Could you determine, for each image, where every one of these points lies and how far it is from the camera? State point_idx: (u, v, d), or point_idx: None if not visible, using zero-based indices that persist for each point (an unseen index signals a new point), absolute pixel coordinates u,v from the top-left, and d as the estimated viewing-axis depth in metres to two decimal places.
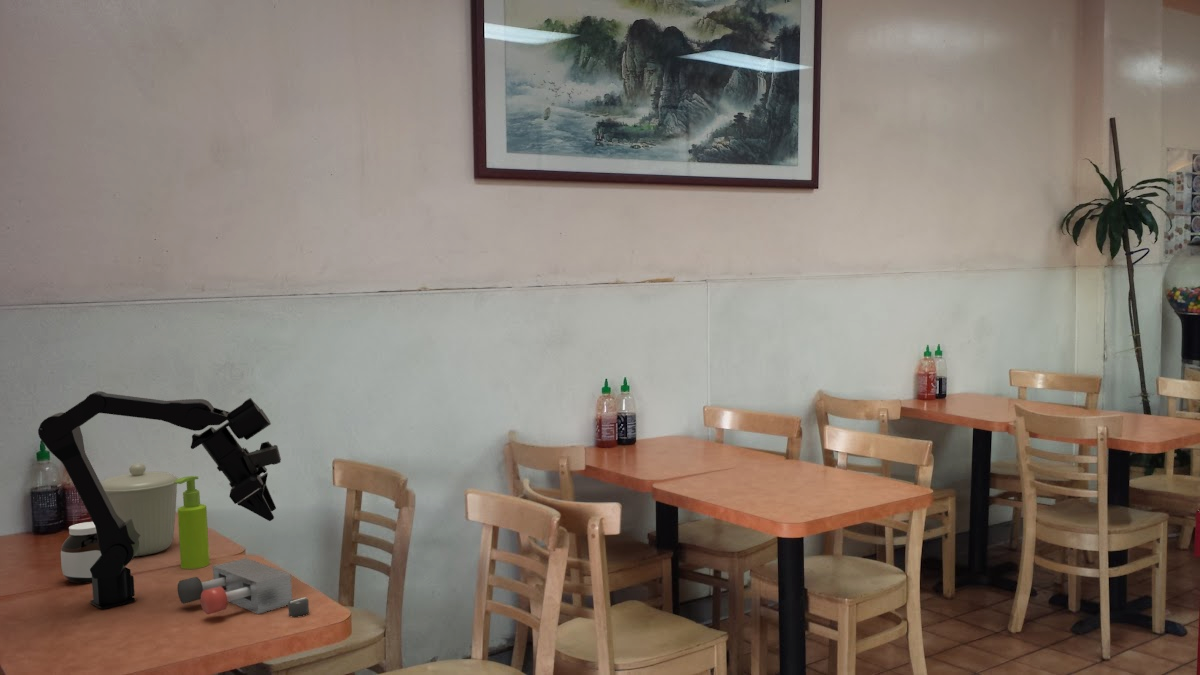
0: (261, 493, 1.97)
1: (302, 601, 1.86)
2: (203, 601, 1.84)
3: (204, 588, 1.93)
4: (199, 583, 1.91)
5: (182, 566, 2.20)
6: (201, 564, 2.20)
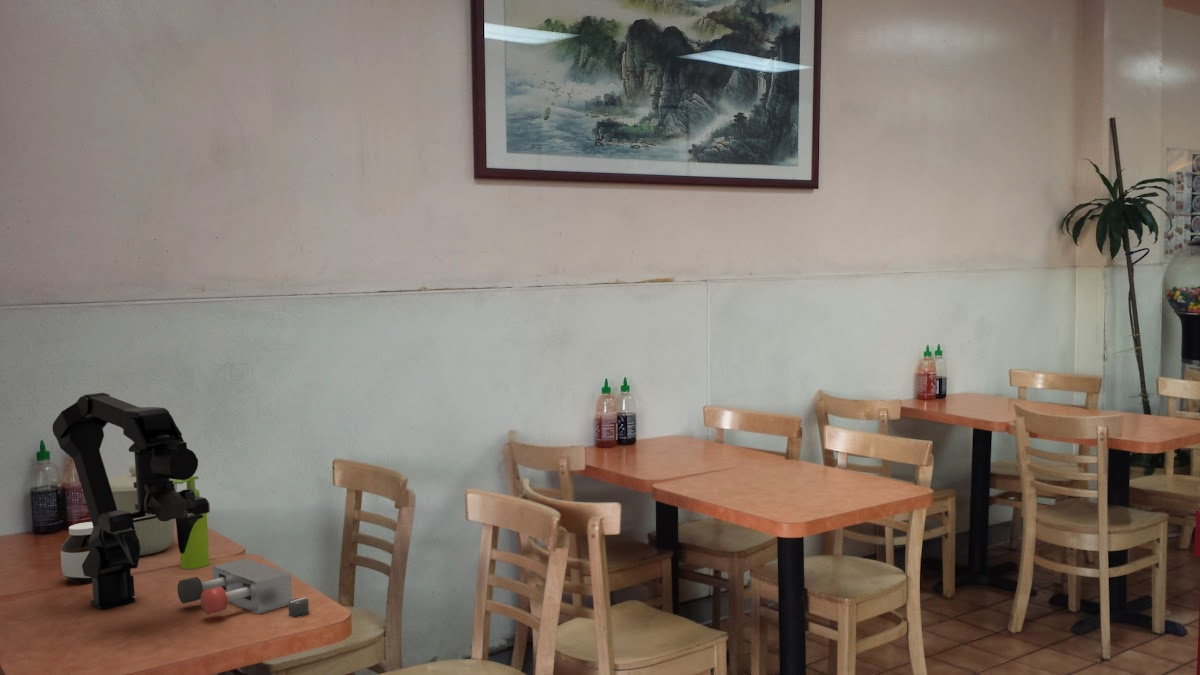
0: (123, 536, 1.80)
1: (302, 601, 1.86)
2: (203, 601, 1.84)
3: (204, 588, 1.93)
4: (199, 583, 1.91)
5: (182, 566, 2.20)
6: (201, 564, 2.20)
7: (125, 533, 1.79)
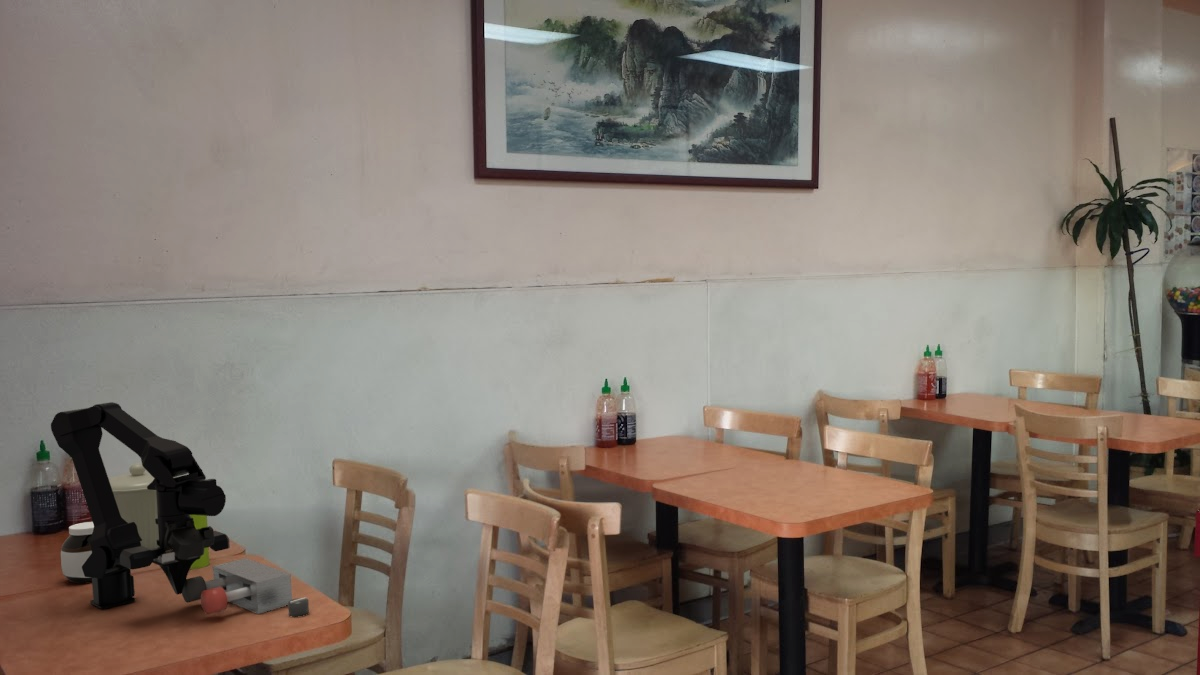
0: (168, 567, 1.87)
1: (303, 601, 1.86)
2: (203, 601, 1.84)
3: (208, 587, 1.93)
4: (203, 582, 1.91)
5: None
6: (201, 564, 2.20)
7: (169, 565, 1.86)
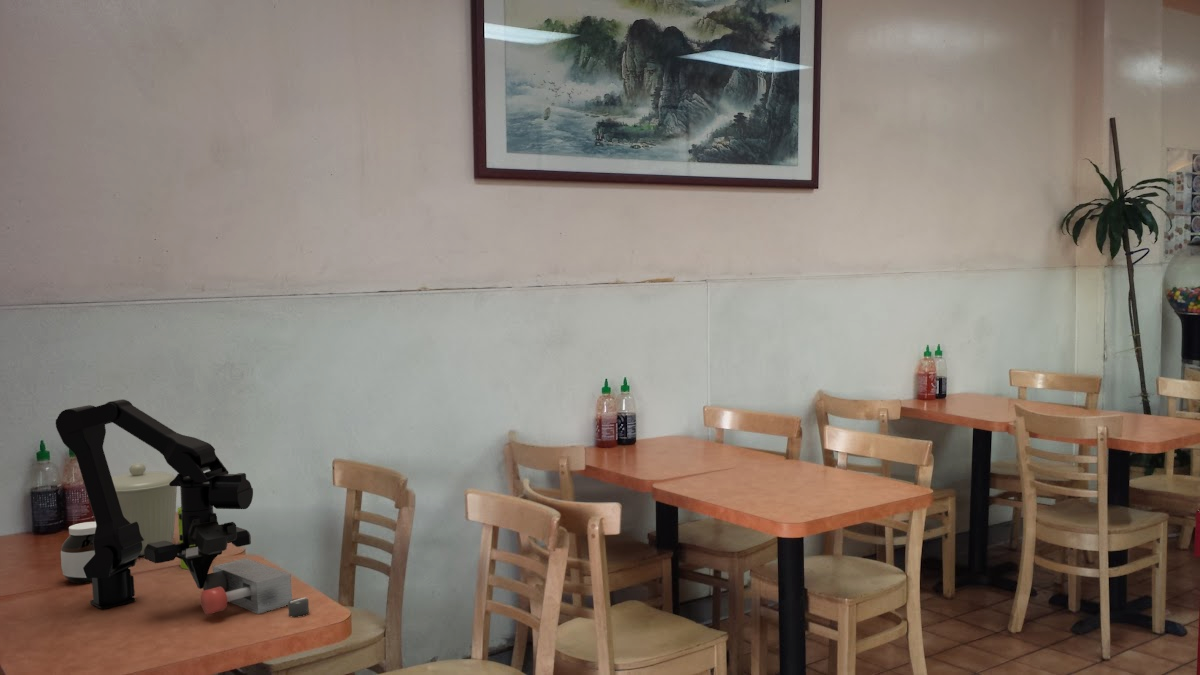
0: (192, 562, 1.90)
1: (303, 601, 1.86)
2: (203, 601, 1.84)
3: None
4: (224, 577, 1.94)
5: (182, 566, 2.20)
6: None
7: (193, 559, 1.89)
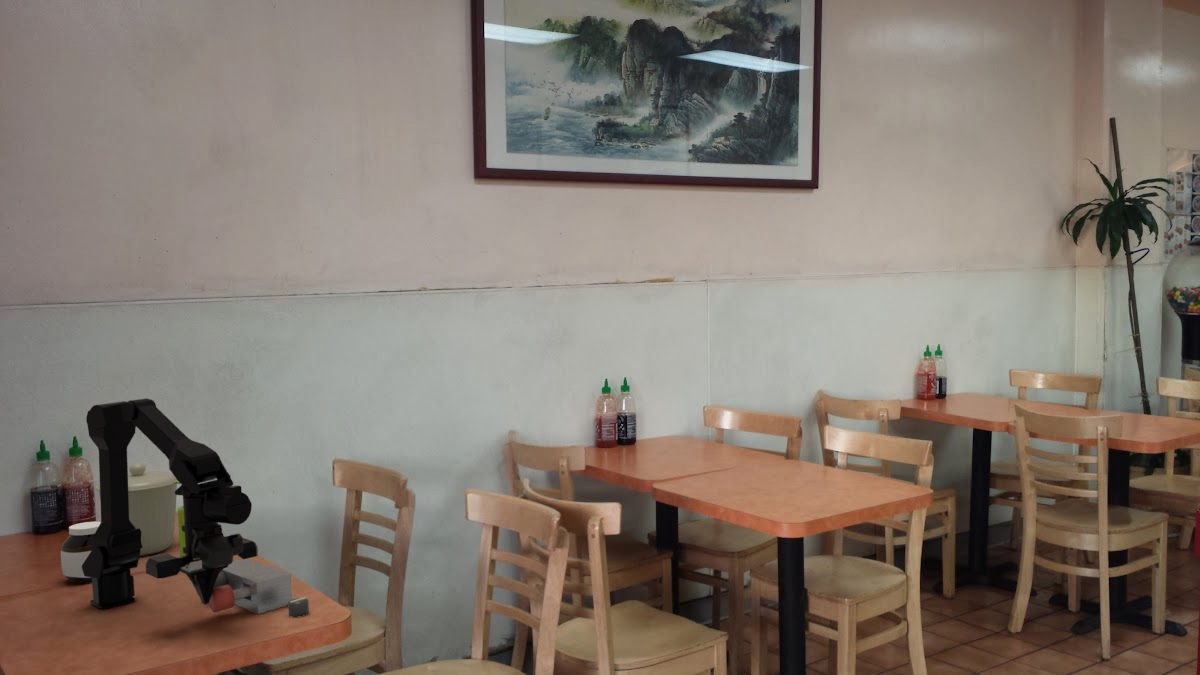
0: (195, 576, 1.80)
1: (302, 601, 1.86)
2: (211, 599, 1.85)
3: None
4: (223, 577, 1.94)
5: None
6: None
7: (197, 573, 1.79)
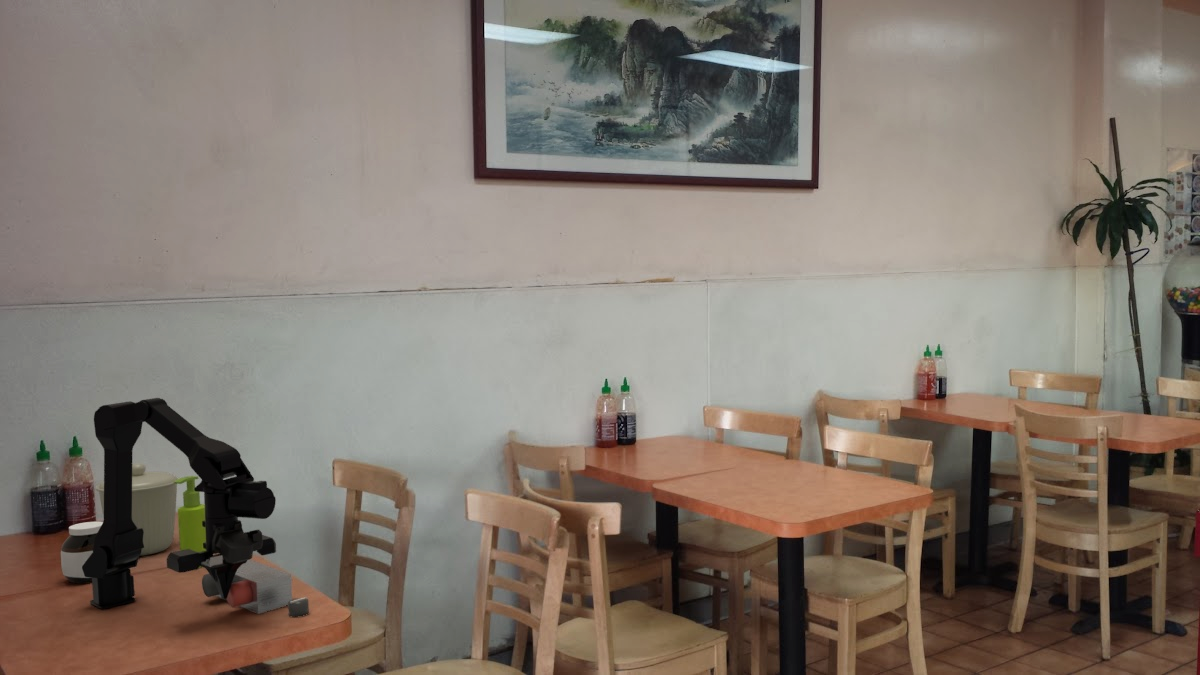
0: (216, 571, 1.83)
1: (302, 601, 1.86)
2: (228, 594, 1.88)
3: None
4: None
5: None
6: None
7: (217, 568, 1.82)
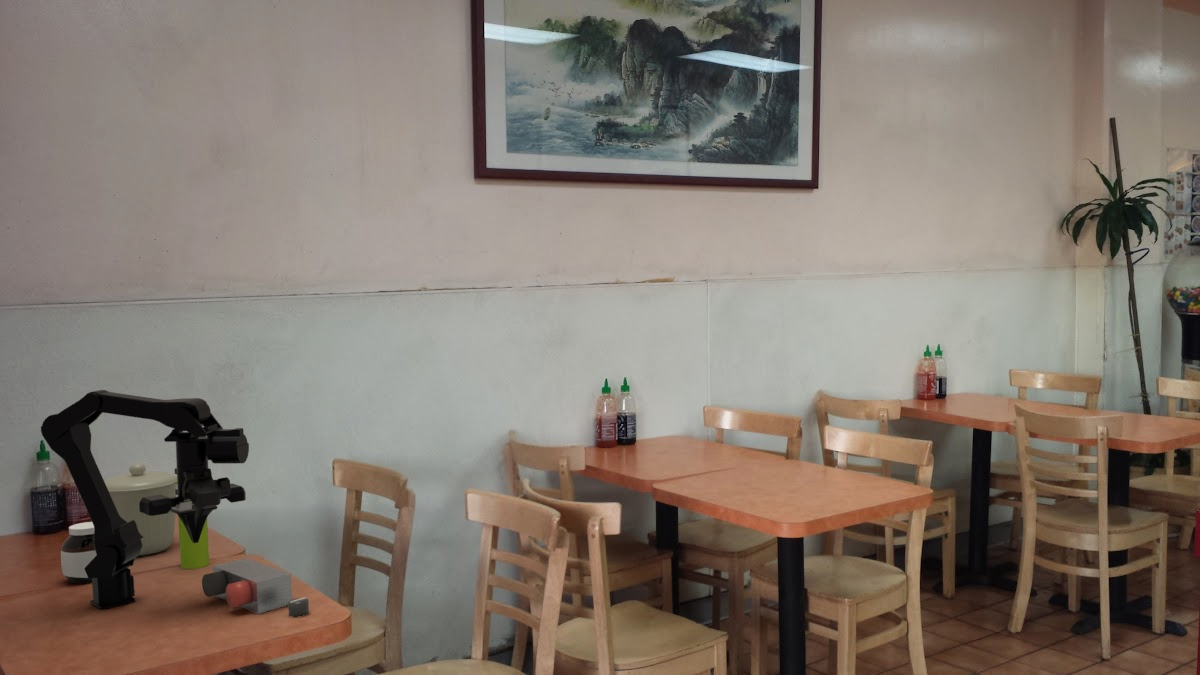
0: (185, 516, 1.92)
1: (303, 601, 1.86)
2: (228, 594, 1.88)
3: None
4: (223, 577, 1.94)
5: (182, 566, 2.20)
6: (201, 564, 2.20)
7: (187, 513, 1.91)
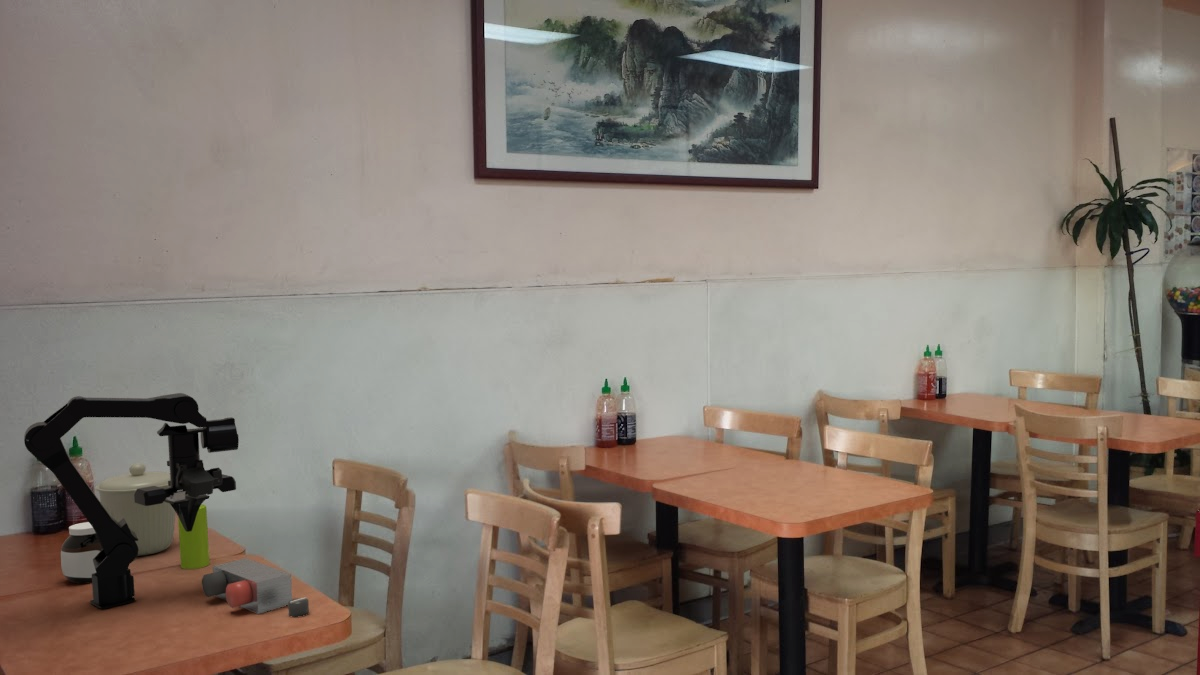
0: (179, 506, 2.00)
1: (303, 601, 1.86)
2: (228, 594, 1.88)
3: None
4: (223, 577, 1.94)
5: (182, 566, 2.20)
6: (201, 564, 2.20)
7: (180, 503, 1.99)
